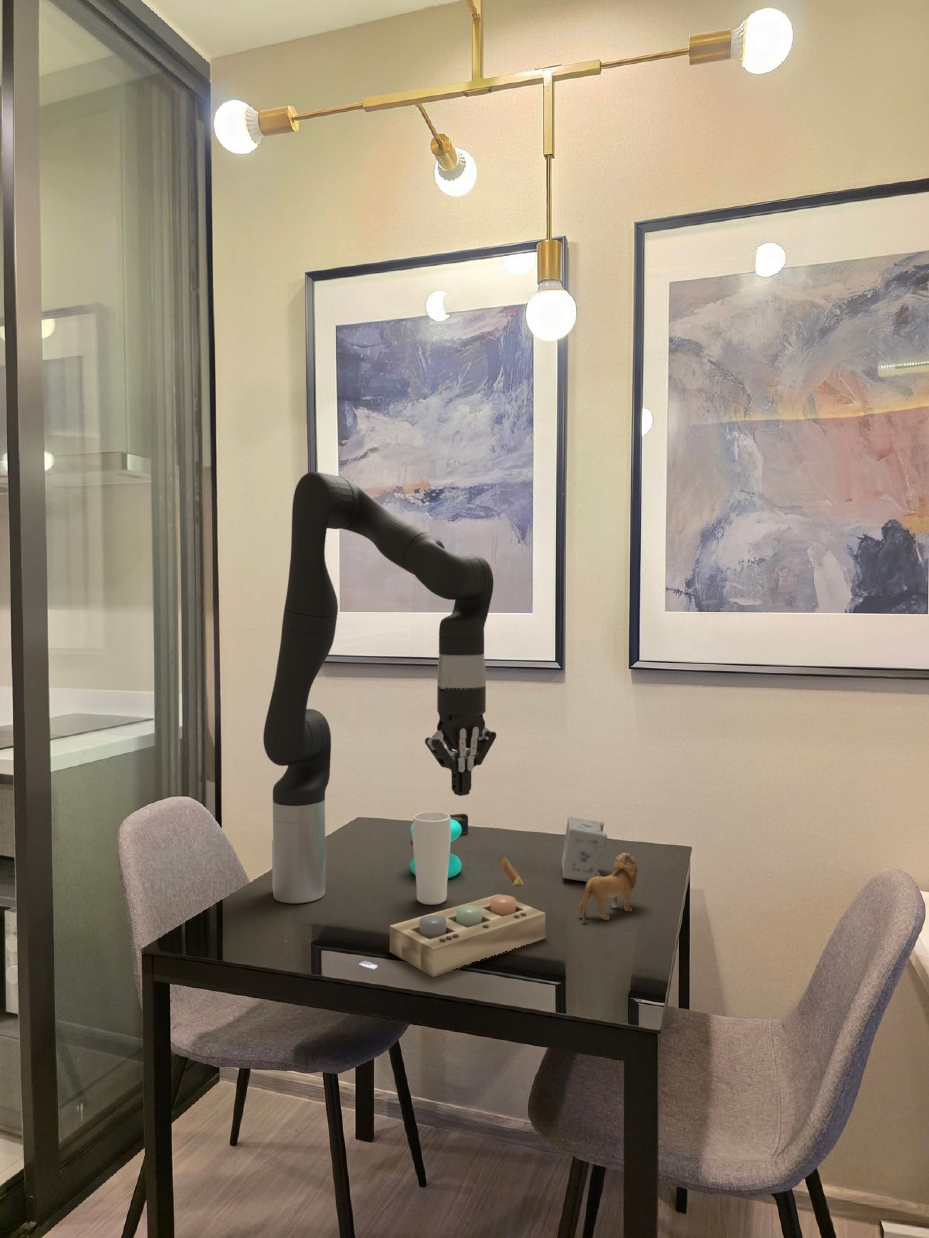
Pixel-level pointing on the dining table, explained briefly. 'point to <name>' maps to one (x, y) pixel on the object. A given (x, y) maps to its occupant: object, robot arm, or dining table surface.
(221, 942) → the dining table surface
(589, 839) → the incense holder
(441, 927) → the slate button
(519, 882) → the chocolate bar
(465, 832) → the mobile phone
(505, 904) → the terracotta button
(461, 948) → the button panel
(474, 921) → the sage button
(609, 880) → the lion figurine
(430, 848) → the drinking glass
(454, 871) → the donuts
